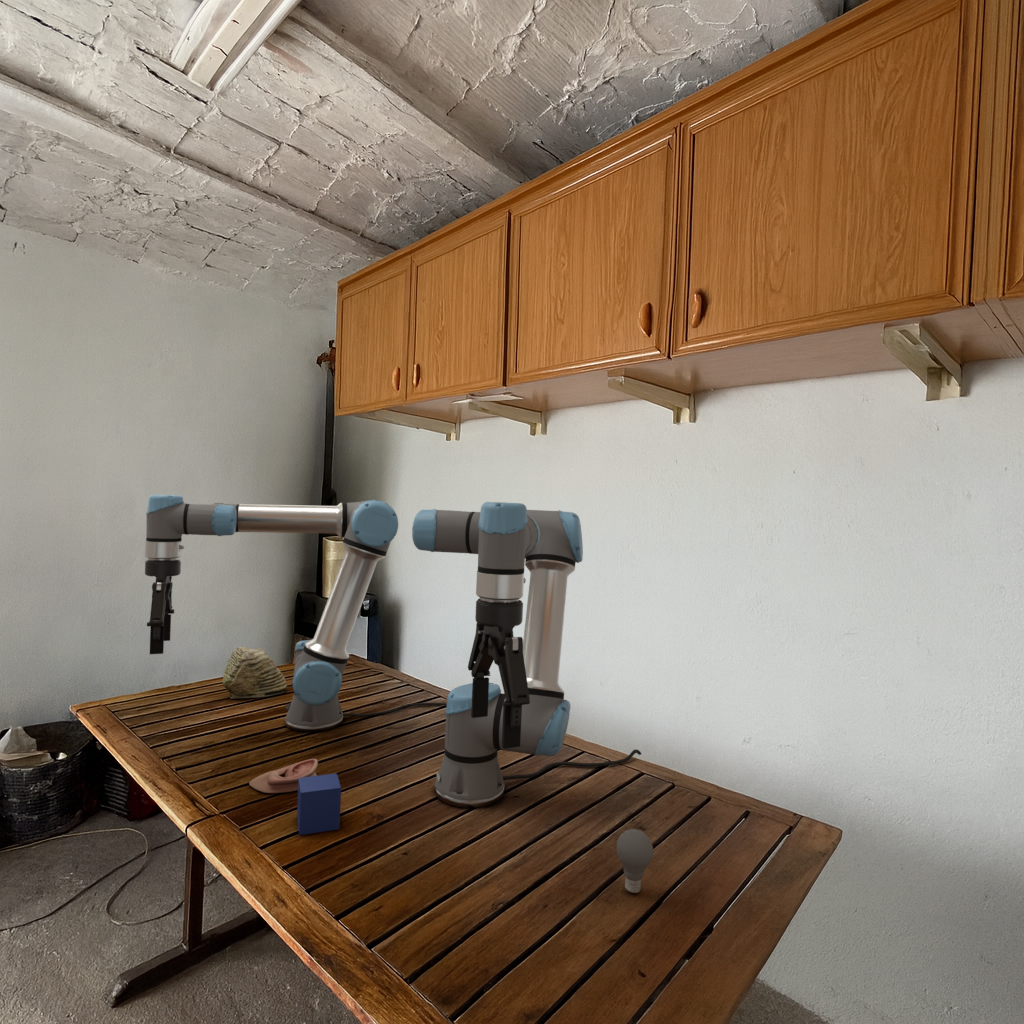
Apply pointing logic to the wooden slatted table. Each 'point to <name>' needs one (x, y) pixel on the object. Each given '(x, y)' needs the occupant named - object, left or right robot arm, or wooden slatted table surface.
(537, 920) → the wooden slatted table surface
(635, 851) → the light bulb
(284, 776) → the anatomical model
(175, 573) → the left robot arm
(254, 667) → the fossil
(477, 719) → the right robot arm
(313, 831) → the block
